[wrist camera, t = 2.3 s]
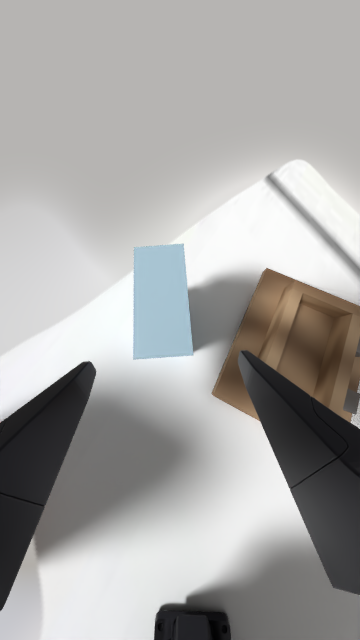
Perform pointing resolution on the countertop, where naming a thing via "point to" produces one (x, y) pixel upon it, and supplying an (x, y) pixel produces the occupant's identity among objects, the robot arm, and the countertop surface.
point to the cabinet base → (298, 344)
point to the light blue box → (161, 303)
